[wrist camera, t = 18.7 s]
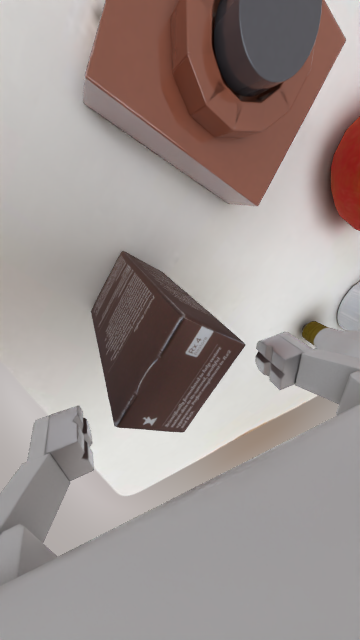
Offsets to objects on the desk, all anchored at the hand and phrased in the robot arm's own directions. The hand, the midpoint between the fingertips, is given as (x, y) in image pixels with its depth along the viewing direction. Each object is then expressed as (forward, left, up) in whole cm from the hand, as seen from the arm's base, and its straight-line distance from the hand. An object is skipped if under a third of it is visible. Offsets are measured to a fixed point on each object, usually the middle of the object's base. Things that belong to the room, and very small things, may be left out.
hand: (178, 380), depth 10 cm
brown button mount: (-1, +15, -12) cm, 19 cm away
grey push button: (-1, +15, -7) cm, 16 cm away
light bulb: (+24, +3, -12) cm, 27 cm away
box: (0, 0, -12) cm, 12 cm away
